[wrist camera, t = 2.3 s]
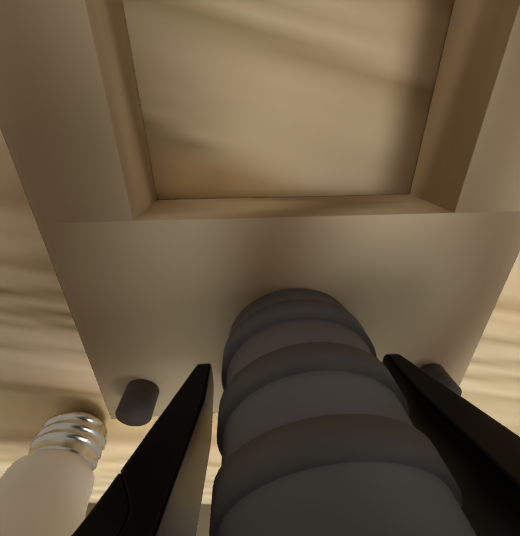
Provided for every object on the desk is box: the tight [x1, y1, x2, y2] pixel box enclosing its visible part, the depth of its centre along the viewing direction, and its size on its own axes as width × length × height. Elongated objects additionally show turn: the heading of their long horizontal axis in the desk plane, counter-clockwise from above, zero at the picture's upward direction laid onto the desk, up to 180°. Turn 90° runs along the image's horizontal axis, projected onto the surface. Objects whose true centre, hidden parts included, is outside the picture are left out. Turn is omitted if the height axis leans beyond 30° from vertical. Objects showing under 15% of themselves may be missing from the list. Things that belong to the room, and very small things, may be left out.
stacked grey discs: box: [209, 288, 477, 536], centre depth 7 cm, size 5×5×6 cm
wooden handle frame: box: [0, 0, 520, 426], centre depth 8 cm, size 14×16×4 cm
